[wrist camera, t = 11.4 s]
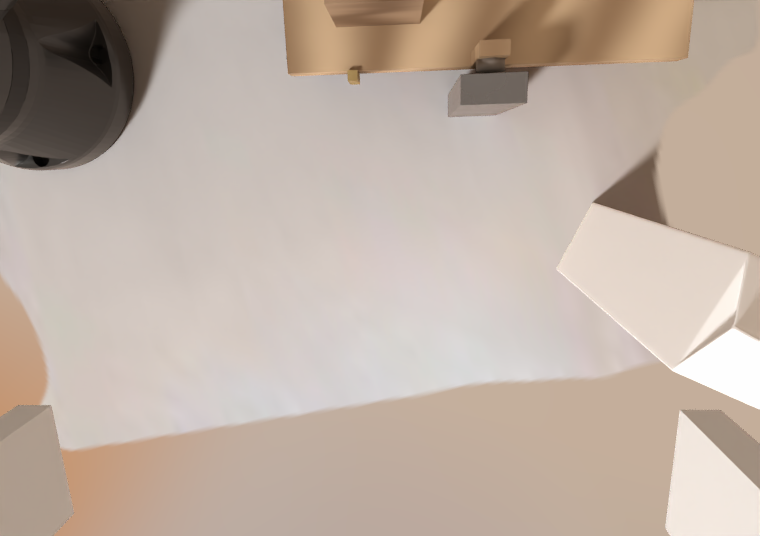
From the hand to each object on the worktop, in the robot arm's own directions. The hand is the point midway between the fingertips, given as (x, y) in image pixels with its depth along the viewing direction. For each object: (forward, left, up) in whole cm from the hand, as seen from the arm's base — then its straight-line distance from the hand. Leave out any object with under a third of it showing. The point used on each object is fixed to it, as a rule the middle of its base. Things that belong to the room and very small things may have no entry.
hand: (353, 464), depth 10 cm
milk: (+14, +9, -31) cm, 35 cm away
